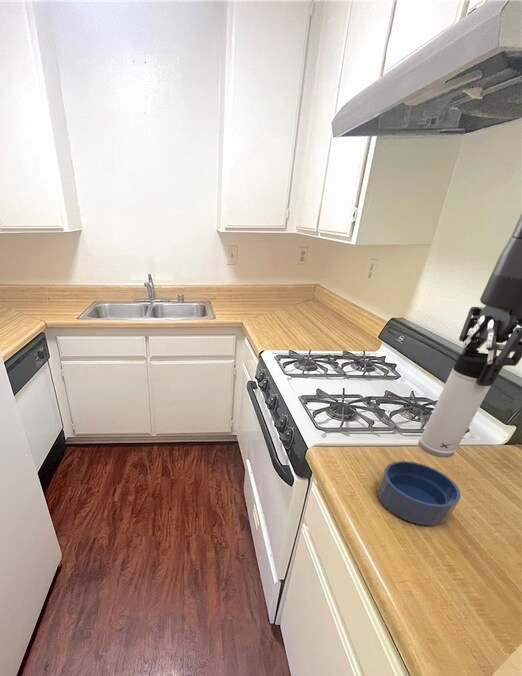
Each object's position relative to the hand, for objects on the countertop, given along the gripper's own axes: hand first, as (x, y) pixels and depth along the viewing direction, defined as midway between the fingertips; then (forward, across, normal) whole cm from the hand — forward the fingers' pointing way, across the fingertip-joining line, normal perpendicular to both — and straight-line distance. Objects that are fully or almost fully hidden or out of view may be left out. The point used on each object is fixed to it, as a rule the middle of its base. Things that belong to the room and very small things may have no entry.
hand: (472, 376), depth 61 cm
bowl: (+30, -1, 0) cm, 30 cm away
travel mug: (+16, 0, 0) cm, 16 cm away
